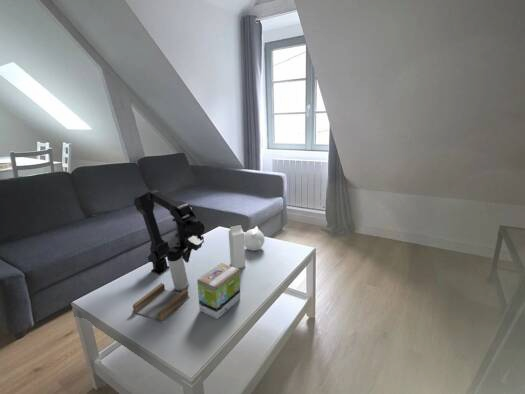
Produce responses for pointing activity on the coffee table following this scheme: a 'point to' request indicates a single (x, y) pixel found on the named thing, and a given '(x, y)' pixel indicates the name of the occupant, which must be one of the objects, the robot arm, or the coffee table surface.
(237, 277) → the tea box
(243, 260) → the milk
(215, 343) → the coffee table surface
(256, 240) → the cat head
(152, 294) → the cradle
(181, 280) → the travel mug
